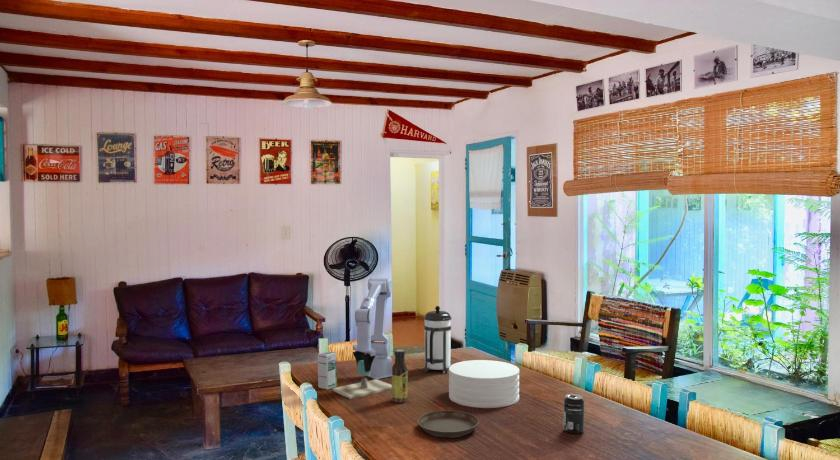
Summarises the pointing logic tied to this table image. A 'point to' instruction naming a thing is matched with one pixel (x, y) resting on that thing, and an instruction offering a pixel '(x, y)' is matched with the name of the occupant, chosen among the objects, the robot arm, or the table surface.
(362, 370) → the teal cube
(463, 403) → the plate stack
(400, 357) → the sauce bottle
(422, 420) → the plant saucer
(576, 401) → the beverage can
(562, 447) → the table surface
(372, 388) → the post board
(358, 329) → the robot arm
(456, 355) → the table surface
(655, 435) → the table surface
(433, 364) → the coffee press
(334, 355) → the syrup box
